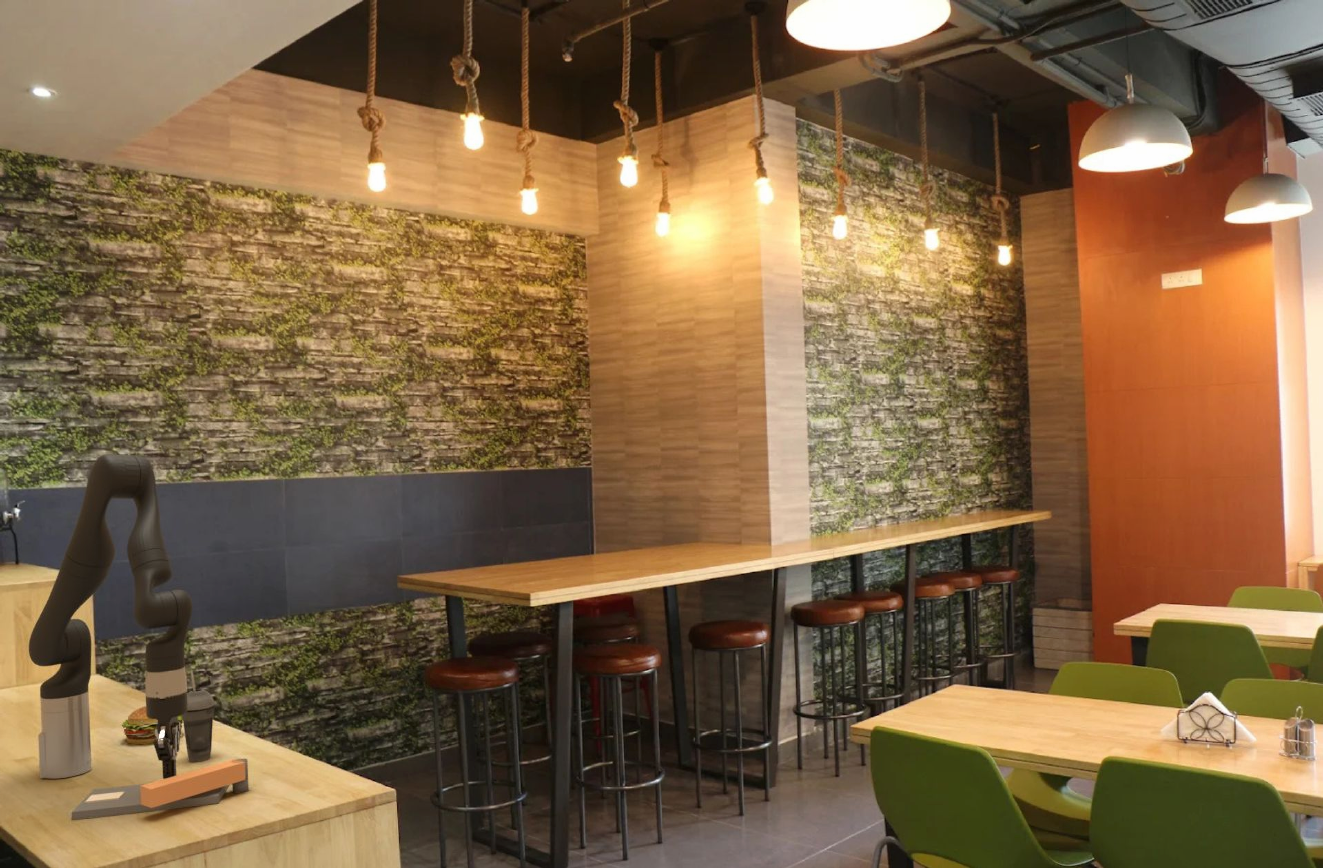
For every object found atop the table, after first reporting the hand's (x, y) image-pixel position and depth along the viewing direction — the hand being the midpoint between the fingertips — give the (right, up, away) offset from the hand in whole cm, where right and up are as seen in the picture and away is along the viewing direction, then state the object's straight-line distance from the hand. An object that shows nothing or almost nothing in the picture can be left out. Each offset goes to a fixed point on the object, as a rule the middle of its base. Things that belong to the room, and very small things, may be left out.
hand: (169, 777), depth 210 cm
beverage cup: (-6, -5, +27) cm, 28 cm away
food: (-26, -6, +47) cm, 53 cm away
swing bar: (+8, -1, -5) cm, 9 cm away
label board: (0, -4, -1) cm, 4 cm away
